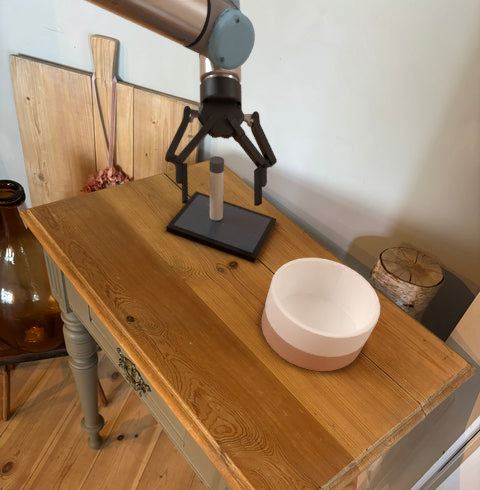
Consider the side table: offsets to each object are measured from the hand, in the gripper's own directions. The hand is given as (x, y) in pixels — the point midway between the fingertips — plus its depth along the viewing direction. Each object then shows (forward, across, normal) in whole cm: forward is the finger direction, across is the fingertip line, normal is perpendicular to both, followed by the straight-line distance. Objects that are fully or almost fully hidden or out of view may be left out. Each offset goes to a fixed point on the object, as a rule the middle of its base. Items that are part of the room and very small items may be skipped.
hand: (222, 203), depth 84 cm
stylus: (+1, 0, -7) cm, 7 cm away
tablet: (+3, -1, -7) cm, 8 cm away
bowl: (+23, -12, +12) cm, 28 cm away
